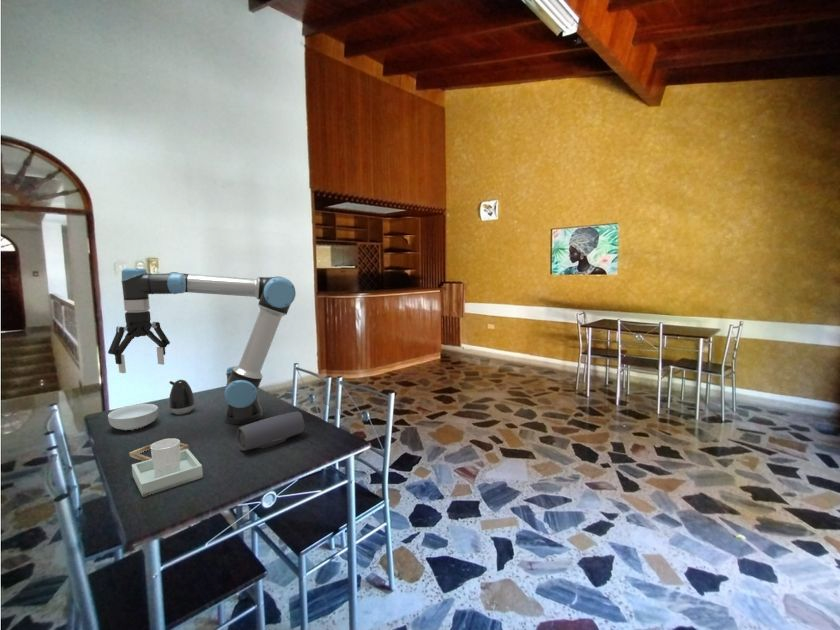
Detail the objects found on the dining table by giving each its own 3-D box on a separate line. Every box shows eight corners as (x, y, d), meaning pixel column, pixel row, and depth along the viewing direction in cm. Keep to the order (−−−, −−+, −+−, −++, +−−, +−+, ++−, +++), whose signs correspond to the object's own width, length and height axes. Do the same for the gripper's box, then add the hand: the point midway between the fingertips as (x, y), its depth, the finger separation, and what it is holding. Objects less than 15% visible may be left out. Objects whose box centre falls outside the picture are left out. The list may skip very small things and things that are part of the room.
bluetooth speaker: (294, 431, 165) (293, 407, 164) (305, 438, 158) (305, 413, 157) (236, 449, 149) (234, 423, 148) (247, 457, 142) (245, 430, 141)
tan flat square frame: (166, 442, 155) (165, 438, 155) (188, 448, 149) (188, 444, 149) (129, 456, 143) (129, 452, 143) (152, 464, 138) (151, 460, 137)
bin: (188, 459, 141) (187, 448, 140) (202, 477, 129) (202, 465, 129) (132, 476, 130) (131, 464, 129) (142, 497, 118) (141, 484, 118)
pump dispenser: (180, 407, 191) (177, 376, 189) (200, 409, 190) (198, 377, 188) (163, 416, 181) (160, 382, 179) (185, 417, 180) (182, 383, 178)
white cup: (185, 473, 130) (183, 443, 129) (157, 483, 124) (154, 451, 123) (177, 465, 135) (175, 436, 134) (149, 474, 130) (147, 444, 128)
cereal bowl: (103, 438, 158) (101, 420, 157) (115, 422, 173) (114, 406, 172) (155, 431, 165) (153, 414, 164) (162, 416, 180) (161, 401, 179)
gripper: (165, 307, 161) (169, 359, 164) (92, 314, 139) (98, 375, 141) (177, 308, 158) (181, 361, 160) (104, 315, 135) (110, 378, 138)
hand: (142, 368), depth 151 cm, fingers open, 13 cm apart
